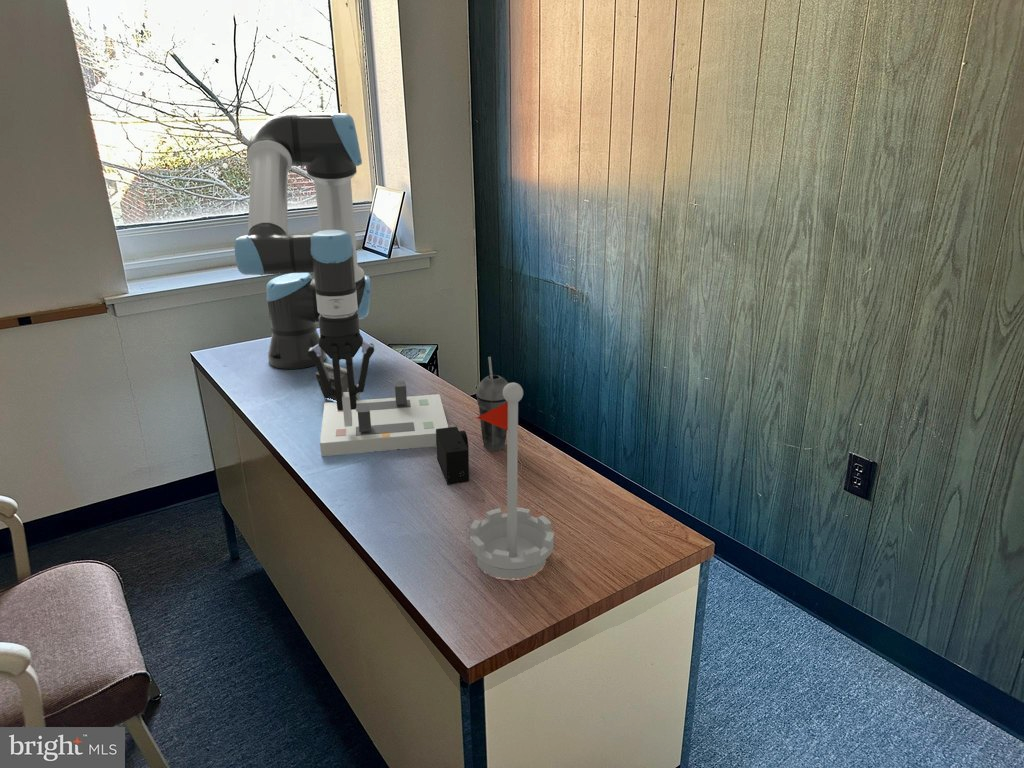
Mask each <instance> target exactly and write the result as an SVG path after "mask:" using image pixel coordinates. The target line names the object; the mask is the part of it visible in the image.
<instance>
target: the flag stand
mask: <svg viewBox="0 0 1024 768" xmlns="http://www.w3.org/2000/svg"><path fill="white" fill-rule="evenodd" d="M523 396H524V389H523V388H522V386H521V384H519V383H517V382H508V384H507V385H506V386H505V387H504V389H503V397H504V399H505V400H506V401H507V403H505V404H503V405H501V406H499V407H497V408H495V409H493V410H491V411H489V412H487V413H485V414H483V415H481V416H480V415H478V416H476V419H478V420H480V419H481V420H483V421H486V422H488V423H491V424H493V425H496V426H498V427H501V428H503V429H505V430H507V434H506V441H507V445H506V446H507V448H506V450H507V451H506V456H507V457H506V458H507V461H506V463H507V464H506V466H507V469H506V470H507V471H506V473H507V476H506V477H507V478H506V479H507V480H506V483H507V485H506V486H507V488H506V489H507V492H506V493H507V495H506V496H507V497H506V501H507V502H506V505H507V507H506V511H507V512H506V513H502V509H501V508H494V509H491V510H488V511H486V512H485V518H484V519H483V520H478V519H474V520H473V522H472V523H471V525H470V528H469V531H470V533H469V535H470V536H469V547H470V550H471V552H472V553H473V555H474V556H475V557H476V562H477V565H479V566H480V567H479V566H478V567H479V568H481V569H482V570H483V571H485V572H486V573H488V574H489V575H492V576H495V577H500V578H509V579H512V578H515V579H517V578H523V577H527V576H529V575H532V574H534V573H536V572H537V571H539V570H540V569H541V568H542V567H543V566H544V564H545V562H546V563H547V561H546V559H548V557H549V556H550V555H551V554H552V552H553V551H554V545H555V532H554V531H553V530H552V522H551V520H549V518H548V517H546V516H544V515H543V514H542V515H540V516H538V517H535V516H532V515H531V509H530V508H524V507H518V459H519V456H518V454H519V450H518V449H519V447H518V446H519V444H518V443H519V402H520V401H522V398H523ZM481 569H480V570H481ZM482 570H481V571H482ZM483 571H482V572H483ZM486 573H485V574H486ZM489 575H488V576H489Z"/></svg>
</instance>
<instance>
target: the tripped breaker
mask: <svg viewBox="0 0 1024 768" xmlns="http://www.w3.org/2000/svg"><path fill="white" fill-rule="evenodd" d="M358 422H359V432H365V431H371V418H370V405H364V406H358Z"/></svg>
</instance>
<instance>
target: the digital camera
mask: <svg viewBox="0 0 1024 768" xmlns="http://www.w3.org/2000/svg"><path fill="white" fill-rule="evenodd" d="M468 439H469V438H468V434H467V432H466V430H459V428H458V426H448V428H440V429H436V446H435V447H436V461H437V464H438V466H439V468H440V471H441V473H442V476H443V478H444V480H445V483H446V485H447V486H450V485H456V484H457V485H458V484H462V483H463V484H465V483H468V482H470V455H469V453H470V450H469V441H468Z"/></svg>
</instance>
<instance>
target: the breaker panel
mask: <svg viewBox="0 0 1024 768" xmlns="http://www.w3.org/2000/svg"><path fill="white" fill-rule="evenodd" d="M356 404H357V407H356V409H355V410H351V411H352V426H348V427H345V424H344V414H343V410H342V411H338V409H337V402H331V401H329V402H324V404H323V413H322V414H323V415H322V422H321V431H320V440H319V445H320V447H319V448H320V454H321V455H320V456H321V457H331V456H342V455H354V454H364V453H375V452H374V451H377V452H387V450H389V451H398V450H397V449H400V450H408V449H410V448H411V449H421V448H431V447H436V429H440V428H449V424H448V422H447V418H446V414H445V409H444V406H443V402H442V399H441V395H440V394H439V393H438V394H426V395H424V394H423V395H413V396H411V395H410V396H407V404H404V405H396V399H395V397H387V398H371V399H361V400H356ZM364 405H370V418H371V431H365V432H359V422H358V406H364Z"/></svg>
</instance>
